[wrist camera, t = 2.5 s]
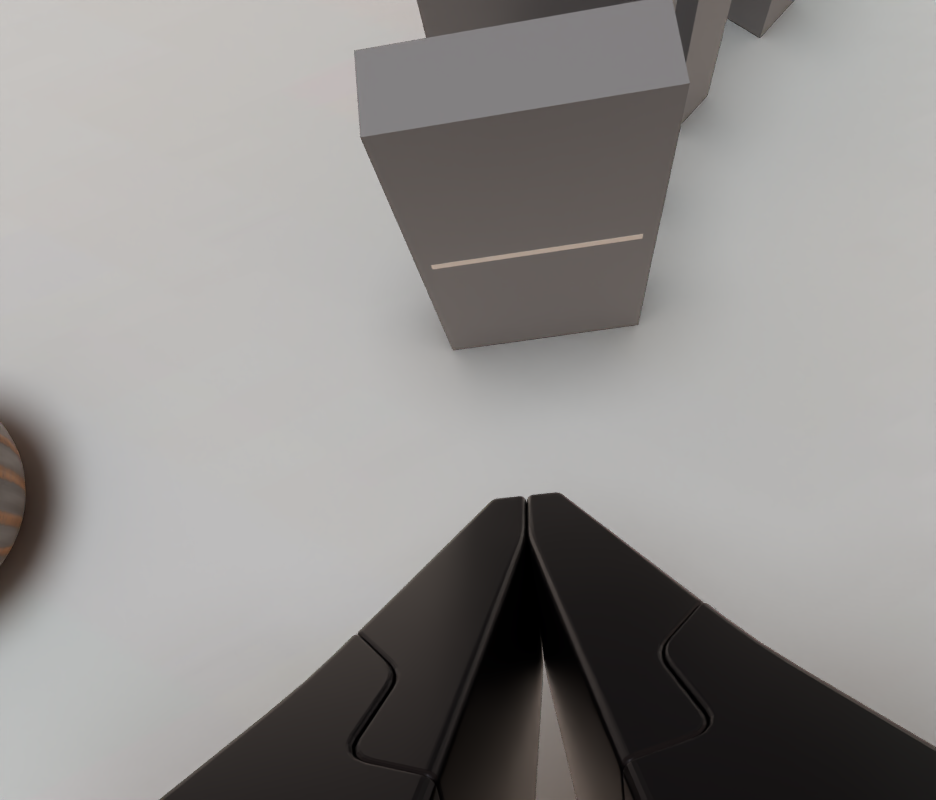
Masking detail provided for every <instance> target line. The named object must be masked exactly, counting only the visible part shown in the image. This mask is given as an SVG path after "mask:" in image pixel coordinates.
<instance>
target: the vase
mask: <svg viewBox="0 0 936 800" xmlns="http://www.w3.org/2000/svg"><path fill="white" fill-rule="evenodd" d="M25 498H26V489H25V476H24V470H23V465H22V461H21V458H20V455H19V452H18V450H17V447H16V445H15V443H14V442H13V440H12V438H11V436H10V435H9V433H8V432H7V430H6V429H5V427H4V426H3V424H2V423H1V422H0V565H1V564H2V562H3V561H4V560H5V558H6V557H7V555H8V553H9V552H10V550H11V548H12V546H13V544H14V542H15V540H16V537H17V535H18V532H19V529H20V526H21V523H22V519H23V514H24V508H25Z"/></svg>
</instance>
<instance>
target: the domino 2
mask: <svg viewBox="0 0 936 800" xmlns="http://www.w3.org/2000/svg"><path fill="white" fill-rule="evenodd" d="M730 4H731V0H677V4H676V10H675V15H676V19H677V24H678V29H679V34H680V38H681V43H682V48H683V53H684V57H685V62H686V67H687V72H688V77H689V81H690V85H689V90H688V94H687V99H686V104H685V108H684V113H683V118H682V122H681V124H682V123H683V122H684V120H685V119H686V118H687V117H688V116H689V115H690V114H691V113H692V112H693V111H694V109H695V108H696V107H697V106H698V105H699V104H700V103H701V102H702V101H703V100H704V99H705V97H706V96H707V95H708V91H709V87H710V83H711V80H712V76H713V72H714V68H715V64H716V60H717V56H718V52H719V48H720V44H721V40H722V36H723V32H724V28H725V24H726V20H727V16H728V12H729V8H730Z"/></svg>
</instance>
